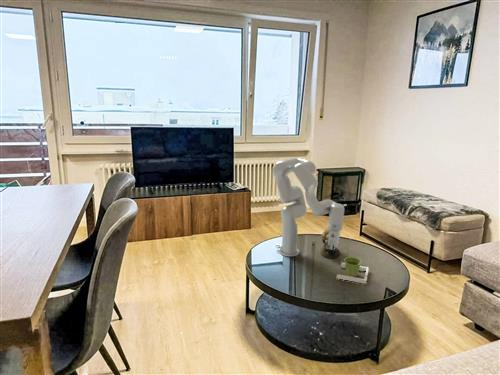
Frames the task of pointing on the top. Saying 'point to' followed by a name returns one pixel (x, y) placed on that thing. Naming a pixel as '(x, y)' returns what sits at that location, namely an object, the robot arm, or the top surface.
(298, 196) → the robot arm
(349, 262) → the plant pot
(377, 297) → the top surface
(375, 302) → the top surface
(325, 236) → the seated figurine
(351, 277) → the white u-shaped block
